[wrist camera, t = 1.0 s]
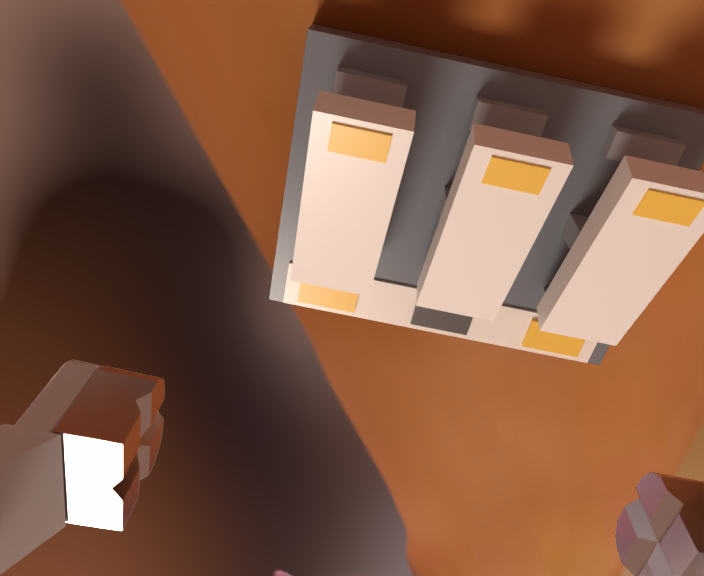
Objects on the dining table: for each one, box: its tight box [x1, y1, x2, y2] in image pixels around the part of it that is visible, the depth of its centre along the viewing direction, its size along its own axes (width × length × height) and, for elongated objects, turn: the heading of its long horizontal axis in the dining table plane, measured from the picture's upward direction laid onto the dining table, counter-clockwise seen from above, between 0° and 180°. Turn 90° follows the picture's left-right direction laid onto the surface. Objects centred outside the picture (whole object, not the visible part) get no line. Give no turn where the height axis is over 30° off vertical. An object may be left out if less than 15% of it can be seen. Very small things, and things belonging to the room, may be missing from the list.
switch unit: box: [269, 24, 704, 365], centre depth 39 cm, size 18×24×5 cm
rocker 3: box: [537, 155, 704, 346], centre depth 35 cm, size 12×5×2 cm, turn 169°
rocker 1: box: [290, 90, 416, 296], centre depth 35 cm, size 12×5×2 cm, turn 169°
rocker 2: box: [416, 123, 574, 321], centre depth 35 cm, size 12×5×2 cm, turn 169°
